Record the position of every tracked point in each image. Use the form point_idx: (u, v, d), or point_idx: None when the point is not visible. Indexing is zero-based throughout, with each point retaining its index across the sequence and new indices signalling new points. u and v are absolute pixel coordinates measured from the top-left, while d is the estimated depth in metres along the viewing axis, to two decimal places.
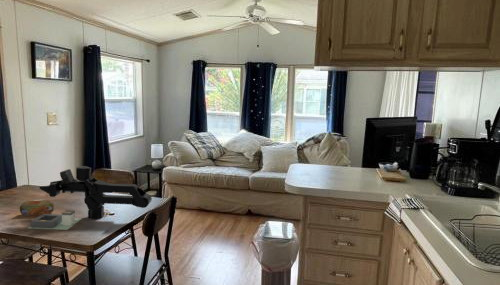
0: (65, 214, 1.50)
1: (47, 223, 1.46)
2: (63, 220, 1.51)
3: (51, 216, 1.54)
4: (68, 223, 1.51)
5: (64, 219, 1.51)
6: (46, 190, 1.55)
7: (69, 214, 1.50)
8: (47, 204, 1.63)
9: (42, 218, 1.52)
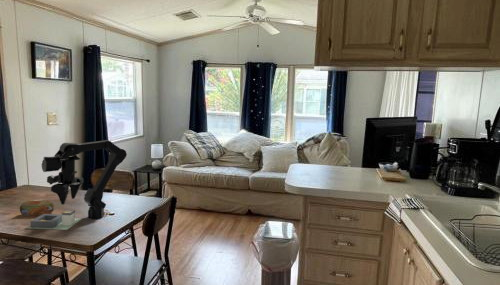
0: (65, 214, 1.50)
1: (47, 223, 1.46)
2: (63, 220, 1.51)
3: (51, 216, 1.54)
4: (68, 223, 1.51)
5: (64, 219, 1.51)
6: (63, 197, 1.45)
7: (69, 214, 1.50)
8: (47, 204, 1.63)
9: (42, 218, 1.52)
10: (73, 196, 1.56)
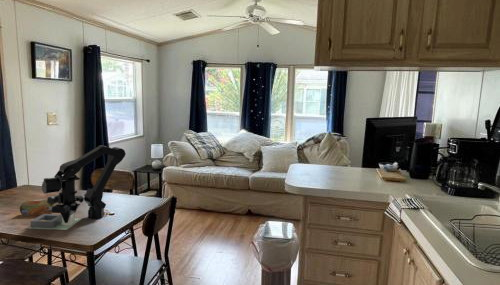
0: None
1: (47, 223, 1.46)
2: (63, 220, 1.51)
3: (51, 216, 1.54)
4: (68, 223, 1.51)
5: None
6: (66, 215, 1.49)
7: None
8: (47, 204, 1.63)
9: (42, 218, 1.52)
10: None
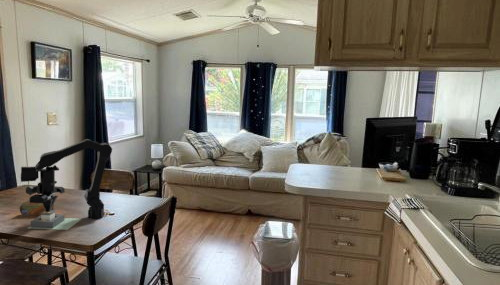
0: (44, 214, 1.49)
1: (47, 223, 1.46)
2: None
3: None
4: None
5: (43, 219, 1.49)
6: (48, 205, 1.49)
7: (48, 214, 1.49)
8: None
9: None
10: None
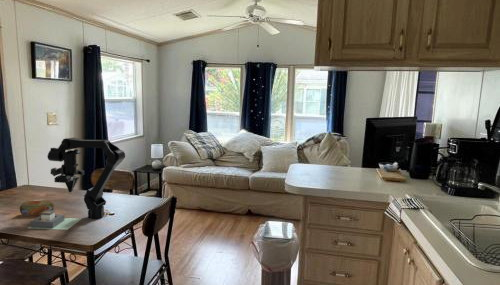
0: (44, 214, 1.49)
1: (47, 223, 1.46)
2: None
3: None
4: None
5: (43, 219, 1.49)
6: (70, 185, 1.61)
7: (48, 214, 1.49)
8: (47, 204, 1.63)
9: None
10: None
